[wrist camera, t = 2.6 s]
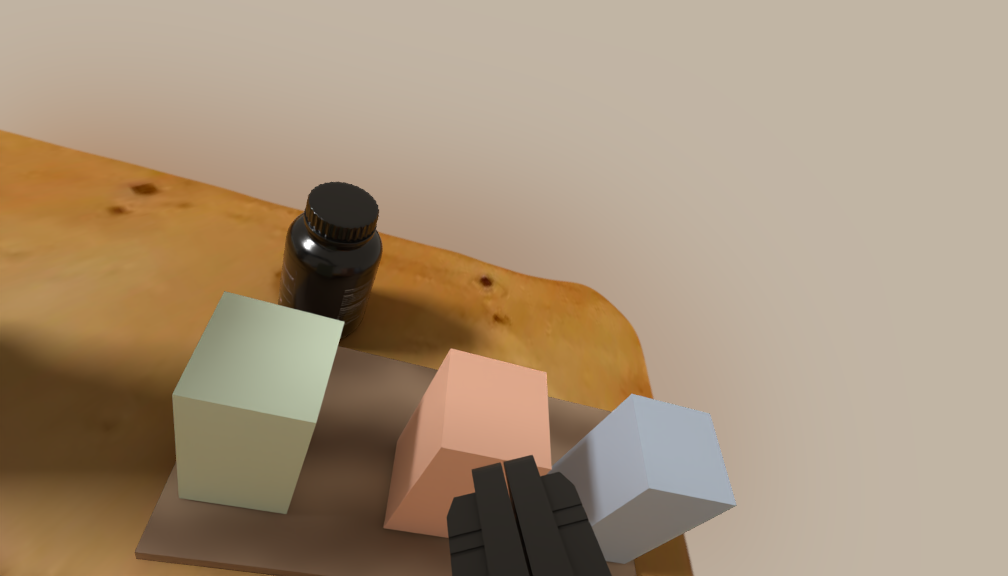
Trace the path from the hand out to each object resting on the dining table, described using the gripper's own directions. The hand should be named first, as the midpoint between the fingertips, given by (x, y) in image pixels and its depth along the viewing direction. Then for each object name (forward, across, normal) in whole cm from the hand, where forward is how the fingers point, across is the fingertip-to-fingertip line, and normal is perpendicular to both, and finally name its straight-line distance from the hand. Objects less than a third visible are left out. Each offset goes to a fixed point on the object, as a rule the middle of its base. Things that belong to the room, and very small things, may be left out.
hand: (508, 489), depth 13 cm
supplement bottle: (+33, -11, -8) cm, 36 cm away
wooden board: (+22, -4, -18) cm, 28 cm away
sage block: (+20, -15, -11) cm, 27 cm away
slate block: (+19, +6, -23) cm, 31 cm away
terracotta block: (+19, -4, -17) cm, 26 cm away
